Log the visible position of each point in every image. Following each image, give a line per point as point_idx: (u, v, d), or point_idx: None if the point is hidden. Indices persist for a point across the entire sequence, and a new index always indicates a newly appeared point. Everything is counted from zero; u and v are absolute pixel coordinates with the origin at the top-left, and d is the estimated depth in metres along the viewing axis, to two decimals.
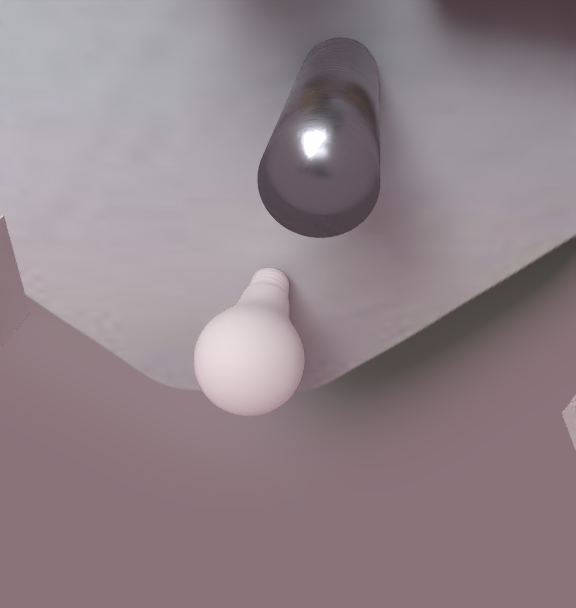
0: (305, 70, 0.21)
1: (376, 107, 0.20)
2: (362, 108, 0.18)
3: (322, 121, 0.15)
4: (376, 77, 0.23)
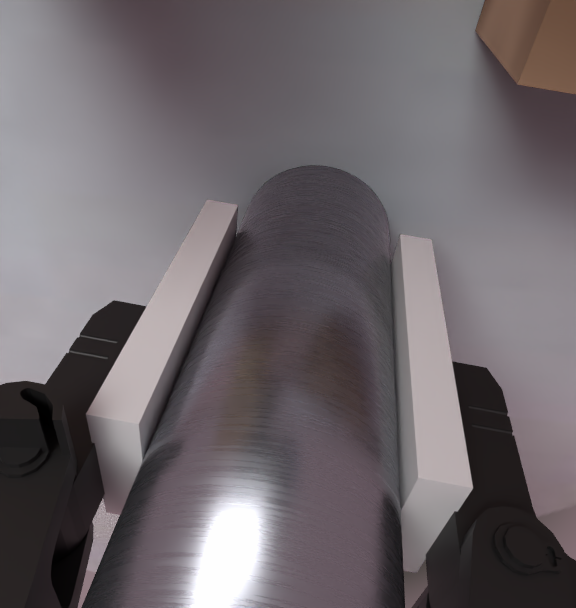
0: (232, 273, 0.10)
1: (390, 405, 0.08)
2: (354, 521, 0.06)
3: None
4: (386, 259, 0.11)
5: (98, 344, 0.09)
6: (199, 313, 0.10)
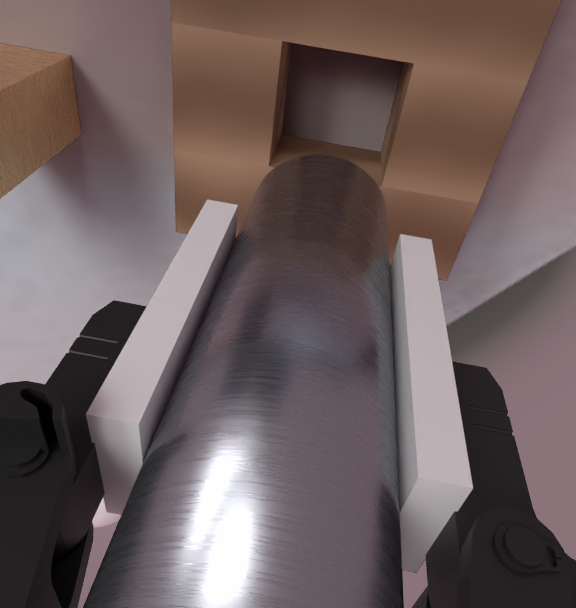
0: (242, 251, 0.11)
1: (388, 367, 0.09)
2: (356, 458, 0.07)
3: None
4: (385, 241, 0.12)
5: (98, 344, 0.09)
6: (199, 313, 0.10)
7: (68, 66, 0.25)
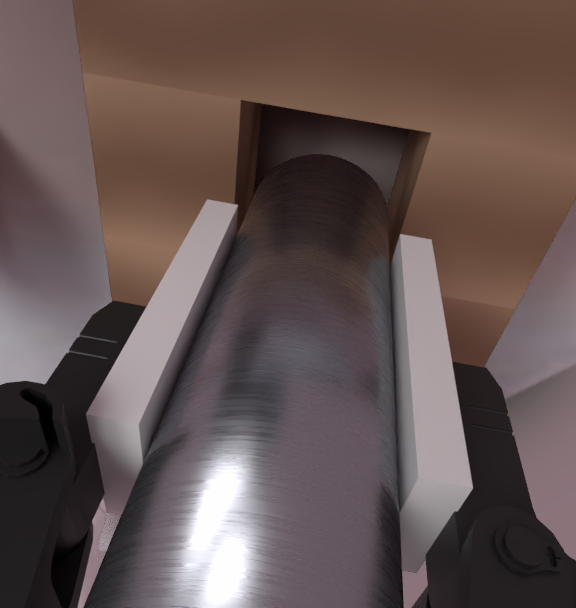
0: (241, 251, 0.11)
1: (388, 368, 0.09)
2: (355, 458, 0.07)
3: None
4: (385, 241, 0.12)
5: (98, 344, 0.09)
6: (199, 313, 0.10)
7: None
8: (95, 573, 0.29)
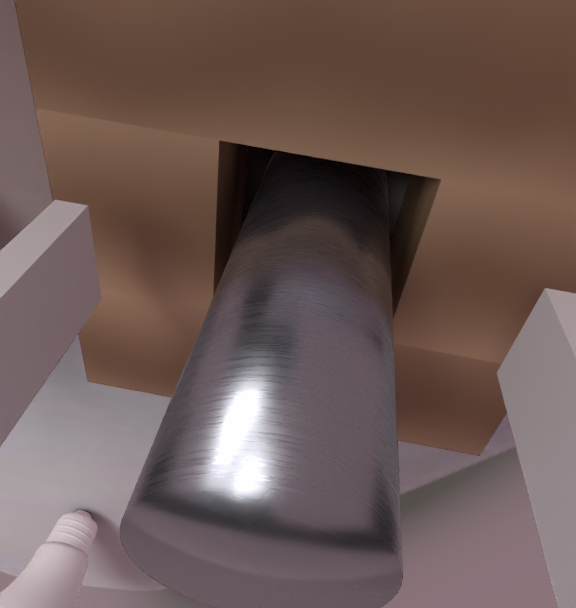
0: (261, 205, 0.12)
1: (387, 296, 0.10)
2: (360, 349, 0.08)
3: (257, 474, 0.06)
4: (385, 200, 0.14)
5: None
6: (7, 324, 0.09)
7: None
8: None
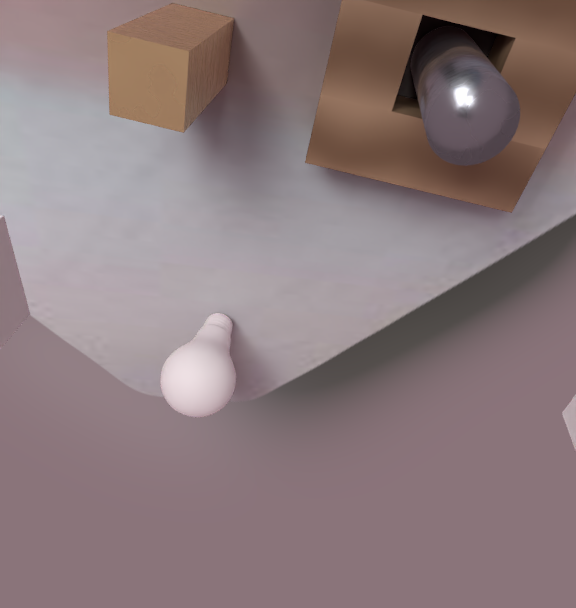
0: (434, 46, 0.28)
1: None
2: (498, 71, 0.24)
3: (486, 73, 0.21)
4: None
5: None
6: None
7: (232, 26, 0.32)
8: None
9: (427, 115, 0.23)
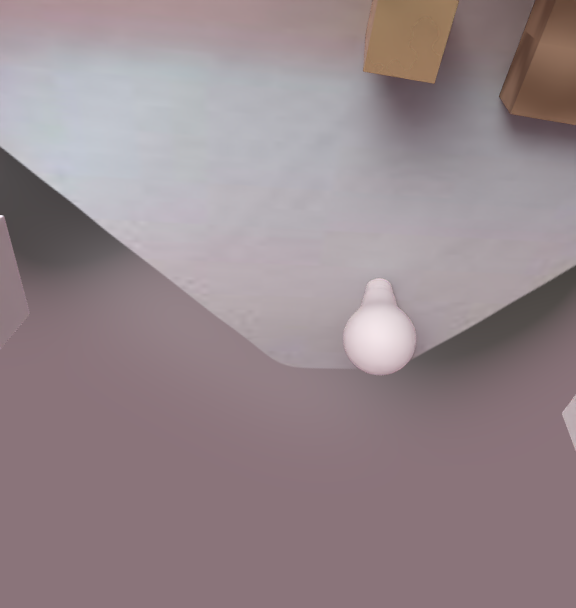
0: None
1: None
2: None
3: None
4: None
5: None
6: None
7: None
8: None
9: None
